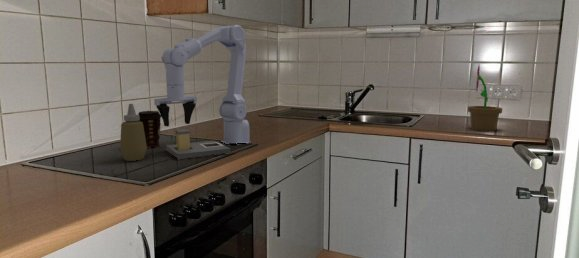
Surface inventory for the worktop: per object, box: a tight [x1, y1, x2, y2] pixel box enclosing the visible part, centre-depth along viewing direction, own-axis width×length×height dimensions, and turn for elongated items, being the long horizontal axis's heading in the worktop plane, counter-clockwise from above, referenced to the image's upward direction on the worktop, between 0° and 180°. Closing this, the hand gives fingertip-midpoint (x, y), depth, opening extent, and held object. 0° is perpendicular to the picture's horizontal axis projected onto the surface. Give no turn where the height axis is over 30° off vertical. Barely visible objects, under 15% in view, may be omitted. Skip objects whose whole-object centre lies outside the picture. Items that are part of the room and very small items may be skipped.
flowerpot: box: [467, 64, 503, 132], centre depth 191 cm, size 14×14×30 cm
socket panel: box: [165, 139, 232, 159], centre depth 145 cm, size 18×16×2 cm
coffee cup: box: [137, 110, 162, 149], centre depth 153 cm, size 9×8×13 cm
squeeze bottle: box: [119, 103, 148, 162], centre depth 133 cm, size 8×8×18 cm
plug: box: [175, 128, 191, 151], centre depth 142 cm, size 4×4×8 cm
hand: (177, 124), depth 142 cm, fingers open, 7 cm apart
